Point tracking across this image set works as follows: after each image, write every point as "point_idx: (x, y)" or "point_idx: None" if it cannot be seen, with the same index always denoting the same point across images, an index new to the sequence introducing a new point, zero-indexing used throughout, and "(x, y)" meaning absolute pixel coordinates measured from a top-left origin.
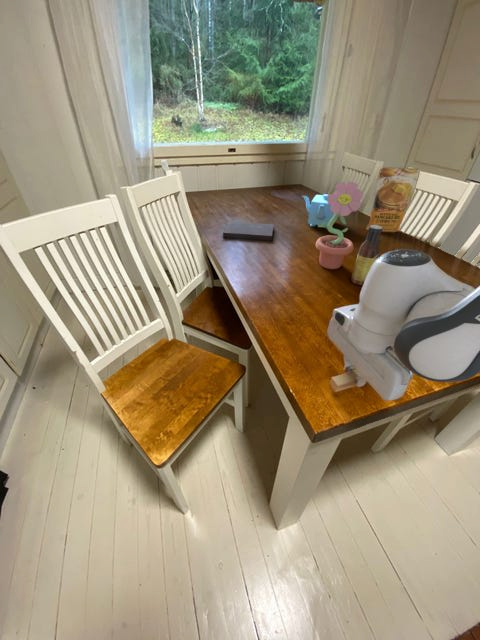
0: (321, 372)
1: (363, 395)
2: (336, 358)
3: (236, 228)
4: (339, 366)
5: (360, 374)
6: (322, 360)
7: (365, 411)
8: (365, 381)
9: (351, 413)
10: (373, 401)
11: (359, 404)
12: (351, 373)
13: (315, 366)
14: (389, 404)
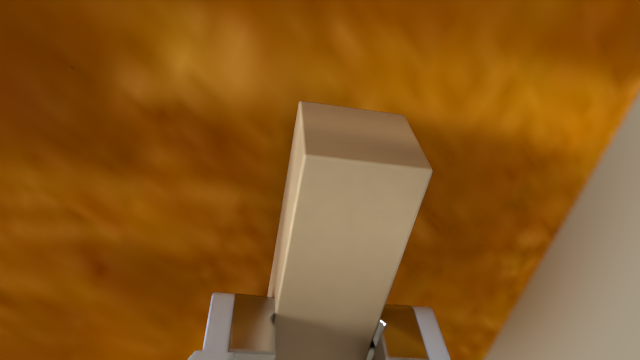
0: (131, 334)
1: (434, 234)
2: (3, 163)
3: None
4: (113, 203)
5: (344, 298)
6: (7, 273)
7: (513, 296)
8: (445, 356)
9: (465, 355)
10: (511, 212)
11: (460, 294)
12: (291, 347)
13: (62, 337)
14: (614, 134)
